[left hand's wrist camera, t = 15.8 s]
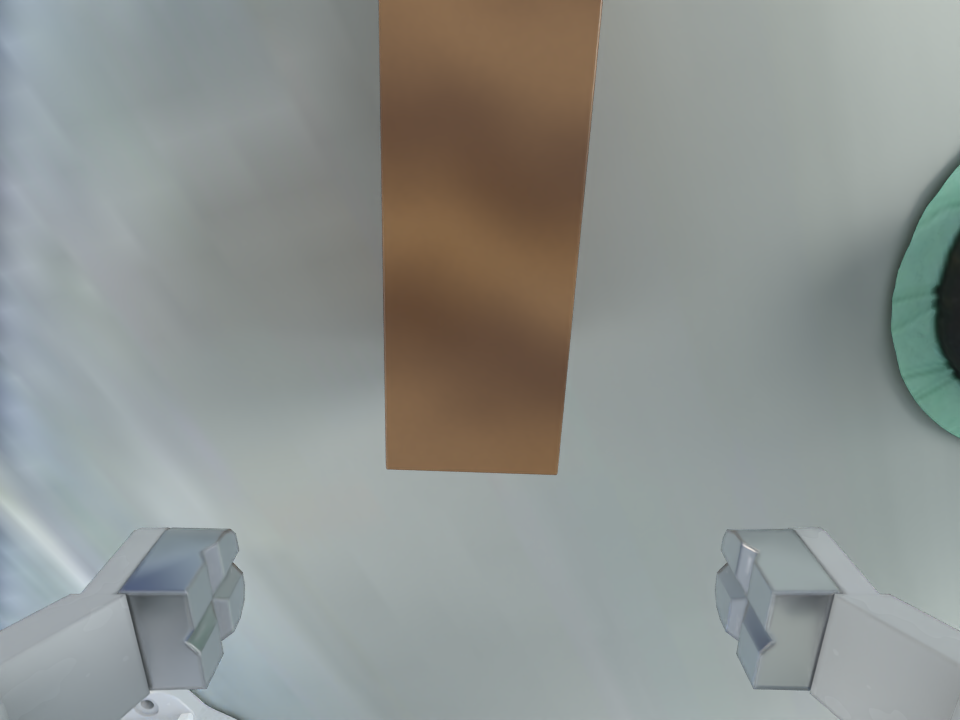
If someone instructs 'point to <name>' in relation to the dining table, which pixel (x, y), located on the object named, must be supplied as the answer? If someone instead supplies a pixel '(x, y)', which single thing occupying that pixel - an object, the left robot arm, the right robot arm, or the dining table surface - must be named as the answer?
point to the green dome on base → (932, 309)
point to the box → (481, 225)
